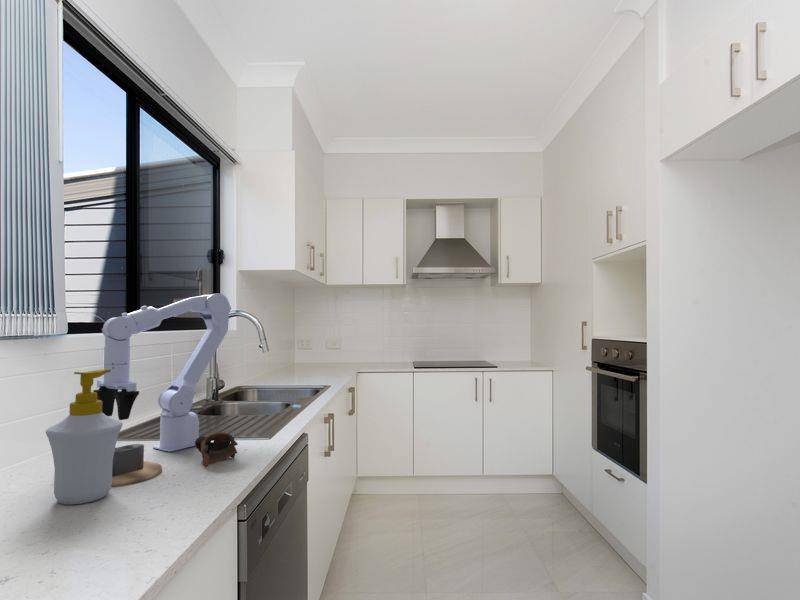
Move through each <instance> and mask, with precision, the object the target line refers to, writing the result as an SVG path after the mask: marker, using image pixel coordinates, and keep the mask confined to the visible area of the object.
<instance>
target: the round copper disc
mask: <svg viewBox="0 0 800 600" xmlns="http://www.w3.org/2000/svg"><path fill="white" fill-rule="evenodd" d="M162 469H163V466H162V464H161V463H159V462H155V461H148V460H144V465H143V468H142V469H140V470H137V471H133V472H129V473H125V474H121V475H118V476H114V477H112V485H111V487H120V486H125V485H130V484H131V485H132V484H136V483H140V482H143V481H147V480H150V479H152V478H155V477H157V476H158V475H160V474H161V473H162Z"/></svg>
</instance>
